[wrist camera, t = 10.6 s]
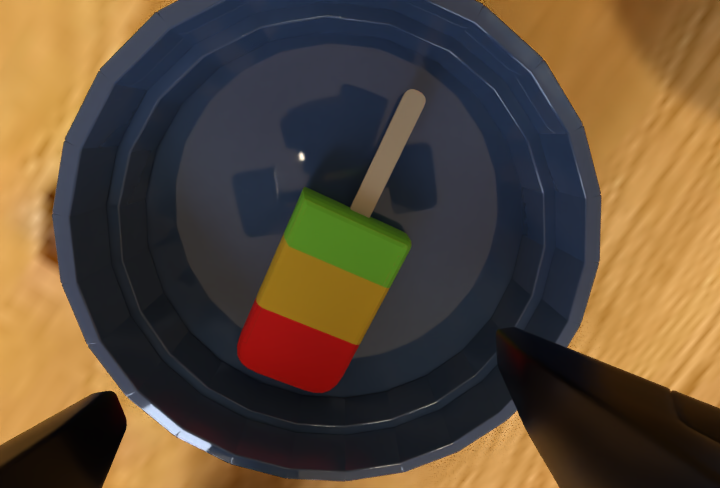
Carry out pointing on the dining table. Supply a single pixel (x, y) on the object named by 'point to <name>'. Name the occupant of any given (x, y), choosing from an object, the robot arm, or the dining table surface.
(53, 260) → the dining table surface
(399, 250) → the popsicle
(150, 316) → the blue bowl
